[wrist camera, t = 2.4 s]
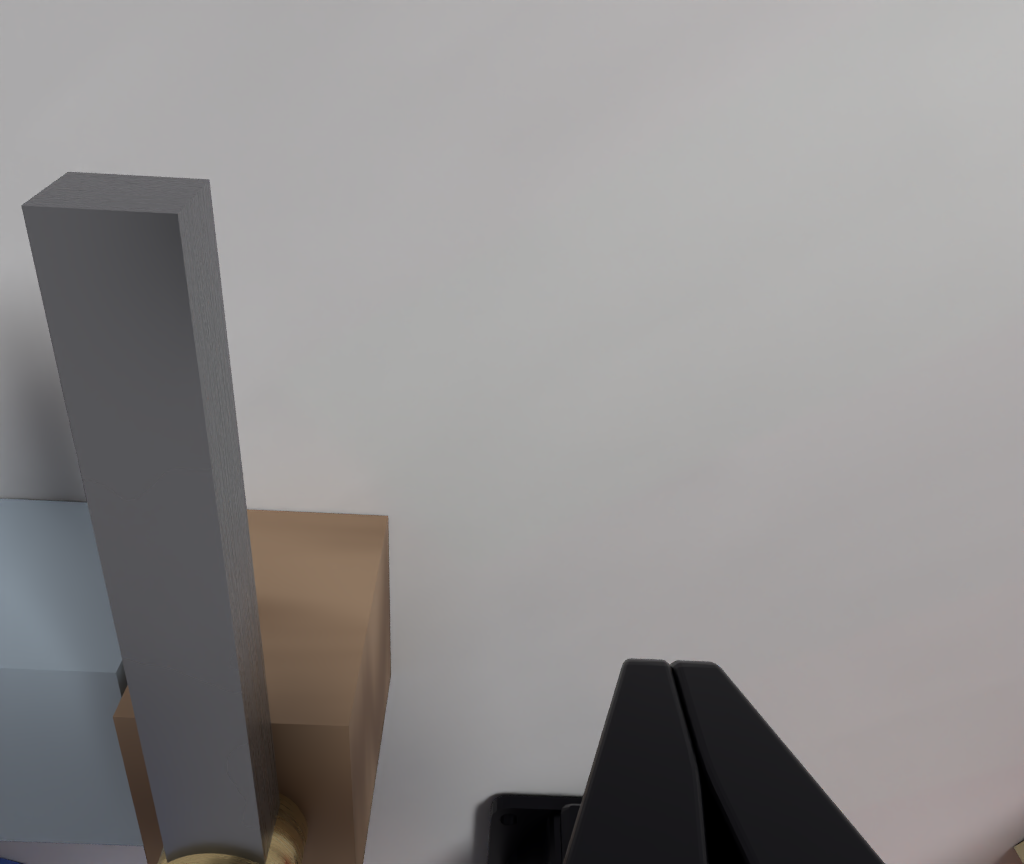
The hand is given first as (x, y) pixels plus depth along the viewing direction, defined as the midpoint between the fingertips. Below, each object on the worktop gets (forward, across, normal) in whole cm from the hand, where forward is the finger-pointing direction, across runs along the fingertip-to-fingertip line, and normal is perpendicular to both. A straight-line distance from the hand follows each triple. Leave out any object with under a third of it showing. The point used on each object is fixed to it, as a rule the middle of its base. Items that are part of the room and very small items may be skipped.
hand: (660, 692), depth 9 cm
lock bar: (+5, +6, +4) cm, 8 cm away
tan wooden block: (+11, +6, +9) cm, 15 cm away
